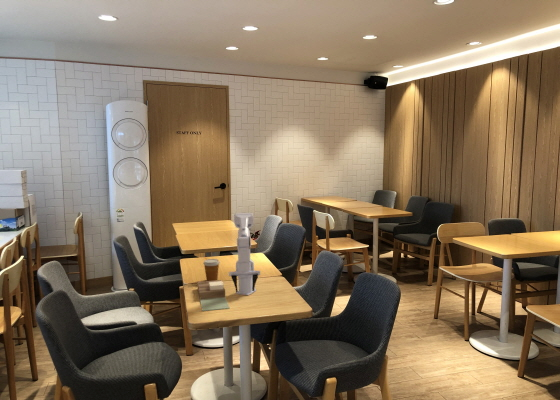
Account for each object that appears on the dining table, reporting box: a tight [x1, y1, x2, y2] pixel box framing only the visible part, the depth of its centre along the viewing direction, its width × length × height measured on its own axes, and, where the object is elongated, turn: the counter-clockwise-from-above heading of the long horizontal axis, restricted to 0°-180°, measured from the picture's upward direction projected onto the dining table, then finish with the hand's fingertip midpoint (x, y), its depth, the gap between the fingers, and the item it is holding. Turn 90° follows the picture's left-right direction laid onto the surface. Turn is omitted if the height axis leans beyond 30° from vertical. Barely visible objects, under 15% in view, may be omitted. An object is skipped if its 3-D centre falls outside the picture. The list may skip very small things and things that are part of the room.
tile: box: [209, 280, 225, 290], centre depth 228 cm, size 7×7×2 cm
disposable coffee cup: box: [203, 258, 220, 281], centre depth 256 cm, size 10×10×12 cm
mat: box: [199, 296, 230, 312], centre depth 215 cm, size 17×13×1 cm
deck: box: [197, 279, 226, 300], centre depth 232 cm, size 20×13×4 cm, turn 14°
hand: (244, 291), depth 201 cm, fingers open, 7 cm apart
